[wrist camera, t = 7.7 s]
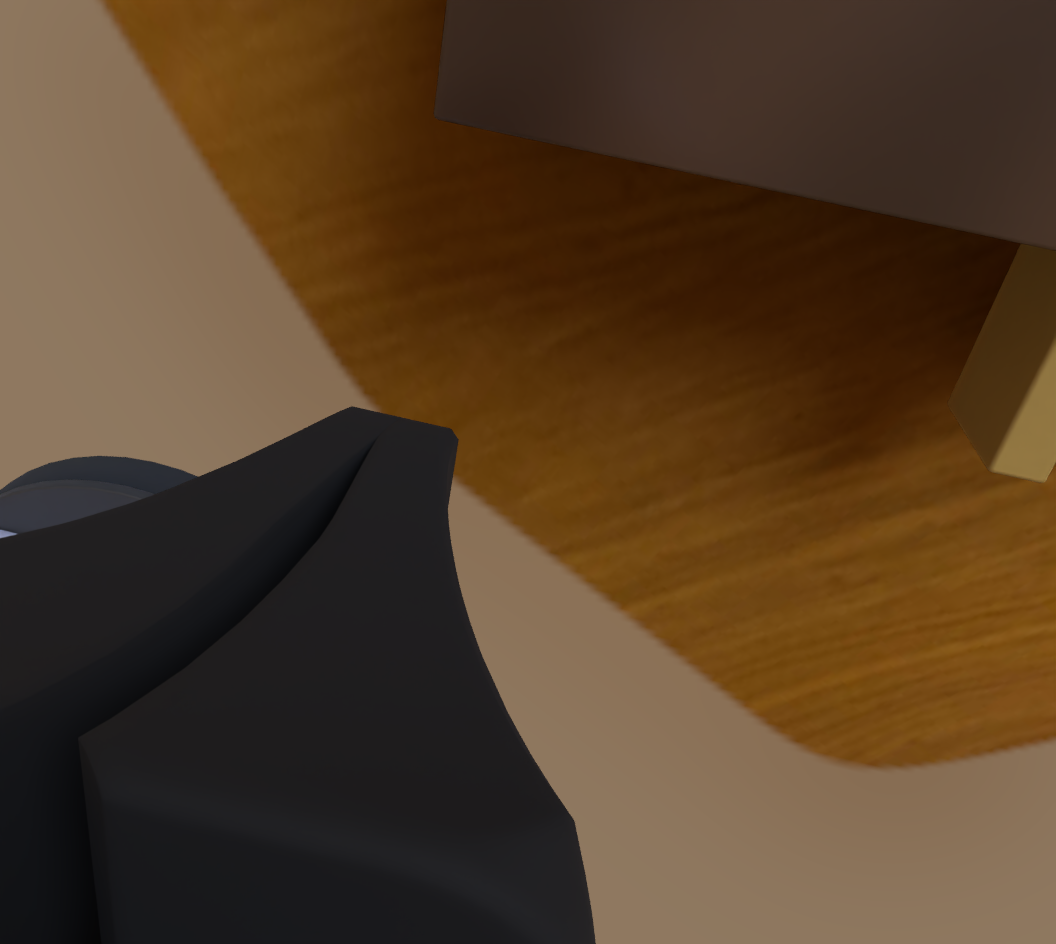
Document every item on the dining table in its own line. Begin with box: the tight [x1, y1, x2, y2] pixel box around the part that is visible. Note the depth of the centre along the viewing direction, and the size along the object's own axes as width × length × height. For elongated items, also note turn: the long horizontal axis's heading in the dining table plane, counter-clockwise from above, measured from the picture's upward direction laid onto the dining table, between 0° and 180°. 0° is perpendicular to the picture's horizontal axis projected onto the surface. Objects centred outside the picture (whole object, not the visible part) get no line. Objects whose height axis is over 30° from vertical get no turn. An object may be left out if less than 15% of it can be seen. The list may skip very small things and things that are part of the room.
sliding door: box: [948, 244, 1056, 483], centre depth 16 cm, size 7×5×4 cm
